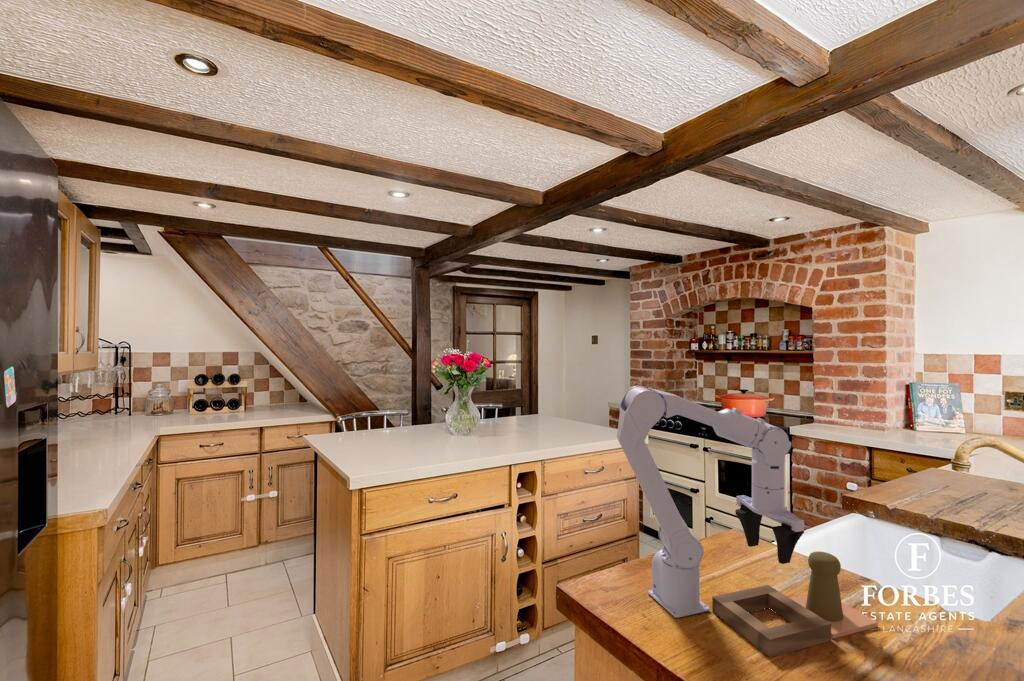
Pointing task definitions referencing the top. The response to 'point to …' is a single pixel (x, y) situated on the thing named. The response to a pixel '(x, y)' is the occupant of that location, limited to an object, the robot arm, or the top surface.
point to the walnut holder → (774, 640)
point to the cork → (824, 587)
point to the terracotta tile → (845, 620)
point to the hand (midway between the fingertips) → (768, 553)
